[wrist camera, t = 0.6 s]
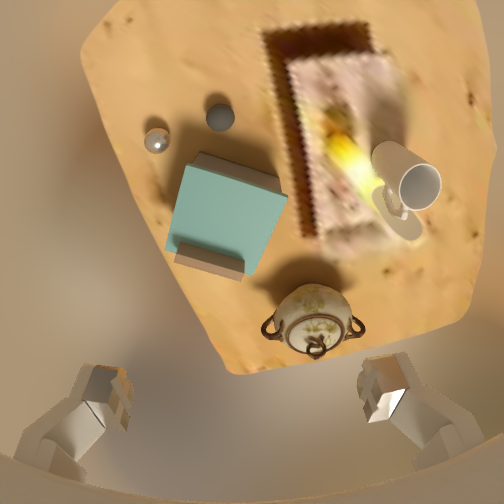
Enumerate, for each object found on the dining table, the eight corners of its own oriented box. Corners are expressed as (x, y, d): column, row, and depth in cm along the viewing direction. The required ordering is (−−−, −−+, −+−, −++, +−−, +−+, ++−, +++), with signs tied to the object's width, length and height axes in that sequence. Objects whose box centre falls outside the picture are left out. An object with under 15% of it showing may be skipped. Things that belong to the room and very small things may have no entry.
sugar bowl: (260, 323, 66) (260, 381, 54) (261, 269, 58) (262, 330, 45) (347, 321, 66) (362, 376, 54) (362, 268, 57) (384, 325, 45)
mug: (376, 133, 42) (409, 157, 33) (410, 145, 43) (448, 171, 33) (358, 190, 48) (383, 226, 38) (392, 198, 49) (421, 235, 39)
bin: (199, 151, 45) (190, 166, 39) (279, 177, 47) (282, 195, 42) (179, 221, 52) (170, 243, 46) (251, 243, 54) (250, 267, 49)
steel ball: (152, 122, 42) (143, 128, 39) (176, 128, 43) (169, 134, 40) (146, 146, 44) (137, 153, 41) (169, 152, 45) (162, 160, 42)
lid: (187, 162, 39) (181, 172, 35) (287, 194, 41) (290, 208, 38) (166, 246, 46) (159, 261, 43) (252, 271, 49) (252, 288, 45)
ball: (213, 99, 40) (209, 102, 37) (239, 107, 41) (237, 111, 38) (204, 123, 43) (200, 129, 39) (230, 131, 43) (228, 137, 40)
